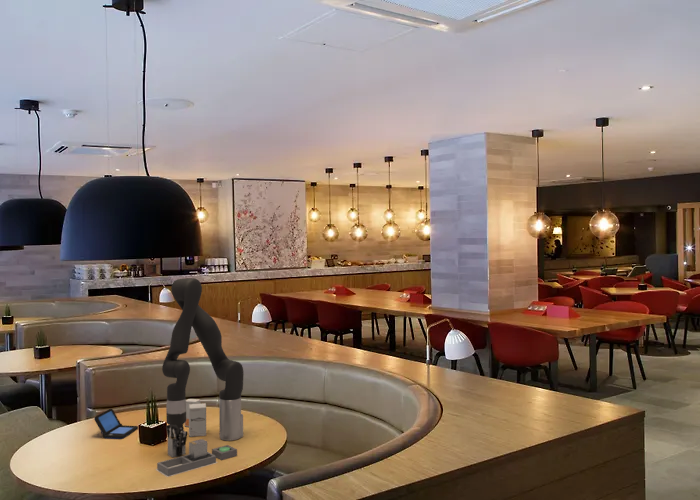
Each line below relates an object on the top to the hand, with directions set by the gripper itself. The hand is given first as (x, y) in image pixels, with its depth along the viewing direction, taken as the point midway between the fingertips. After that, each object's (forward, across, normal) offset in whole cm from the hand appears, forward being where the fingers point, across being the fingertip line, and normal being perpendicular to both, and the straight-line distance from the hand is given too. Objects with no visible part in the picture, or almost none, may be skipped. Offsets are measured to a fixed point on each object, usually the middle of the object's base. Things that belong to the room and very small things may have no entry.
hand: (176, 453), depth 239 cm
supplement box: (+2, -20, +20) cm, 28 cm away
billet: (+1, 0, 0) cm, 1 cm away
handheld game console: (+2, -46, -5) cm, 46 cm away
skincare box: (+1, -32, +24) cm, 40 cm away
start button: (0, +14, +13) cm, 19 cm away
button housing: (+1, +14, +13) cm, 19 cm away
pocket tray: (+1, +14, -3) cm, 14 cm away
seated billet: (0, +14, +2) cm, 14 cm away
